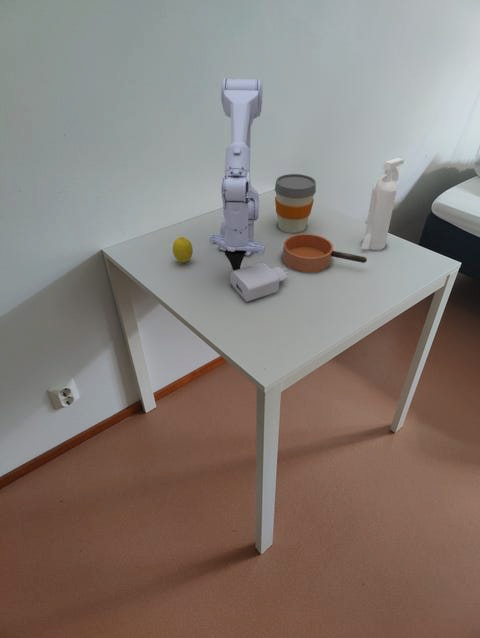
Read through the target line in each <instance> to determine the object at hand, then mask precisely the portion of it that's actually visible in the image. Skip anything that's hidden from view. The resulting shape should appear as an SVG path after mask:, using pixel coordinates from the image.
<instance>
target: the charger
mask: <svg viewBox="0 0 480 638" xmlns="http://www.w3.org/2000/svg"><path fill="white" fill-rule="evenodd" d="M287 270H288V268H287V267H285V268H282V267H280V266H275V267H272V268H271V267H270V266H269V265H267V264H266V263H263V262H258V263H255V264H251V265H248V266H244V267H242V268H241V267H240V269H238V270H235V271H233V270H232V271H230V283H231V284H230V285H231V286H232V287H233V288H234V289H235V291H236V293H238V294H239V295H240V296H241V297H242V299H244V301H245V302H251V301H254V300H257V299H260V298H263V297H266V296H269V295H271V294H272V295H273V294H274V293H277V292H278V291H279V289H280V282H282V281H285V280H287V279H288V278H289V277H288V274H291V271H290V270H289V271H287Z"/></svg>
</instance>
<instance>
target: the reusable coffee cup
mask: <svg viewBox="0 0 480 638" xmlns="http://www.w3.org/2000/svg"><path fill="white" fill-rule="evenodd" d="M316 187H317V181H316V179H315V178H313V177H312V176H309V175H306V174H299V173H287V174H283V175H281V176H279V177H277V178H276V180H275V185H274V192H275V196H274V197H275V198H274V203H275V213H276V215H277V227H278V228H279V230H281V231H282V232H285V233H290V234H296V233H301V232H304V231H305V230H306V228H307V223H308V220H309V216H310V215H311V213H312V209H313V205H314V203H315V202H314V201H315V199H314V196H315V194H316V192H317V188H316Z"/></svg>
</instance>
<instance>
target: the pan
mask: <svg viewBox="0 0 480 638" xmlns="http://www.w3.org/2000/svg"><path fill="white" fill-rule="evenodd" d="M329 251H330V252H329ZM332 251H334V245H333V243H332V242H331V241H330V240H329V239H327V238H326V237H324V236H322V235H317V234H313V233H299V234H295V235H291V236H289V237H287V238H286V239H285V240H284V242H283V248H282V261H283V263H284V264H285V266H287V267H288V268H290V269H291V270H294V271H296V272H300V273H318V272H322V271H324V270H326V269H328V268H329V267H330V265H331V263H332V261H333V259H332V258H333V257H332V256H331V254H332ZM328 252H329V253H328Z"/></svg>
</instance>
